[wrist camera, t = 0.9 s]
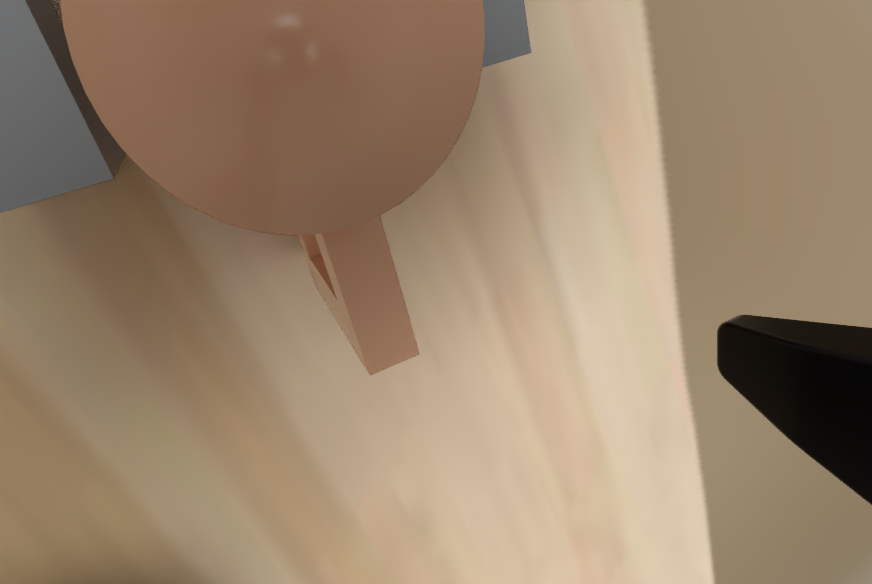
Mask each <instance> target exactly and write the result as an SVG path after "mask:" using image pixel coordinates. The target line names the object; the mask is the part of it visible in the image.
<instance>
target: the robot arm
mask: <svg viewBox="0 0 872 584" xmlns="http://www.w3.org/2000/svg"><path fill="white" fill-rule="evenodd" d="M717 366H718V369H719V371H720V373H721V375H722V376H723V377H724V378H725V379H726V380H727V381H728V382H729V383H730V384H731V385H732V386H733V387H734V388H735V389H736V390H737V391H738V392H739V393H740V394H741V395H743V397H745V398H746V399H747V400H748V401H749V402H750V403H751V404H752V405H753V406H754V407H755V408H756V409H758V411H759V412H760V413H762V414H763V415H764V416H765V417H766V418H767V419H768V420H769V421H770V422H771V423H772V424H773V425H774V426H776V428H777V429H779V430H780V431H781V432H782V433H783V434H784V435H785V436H786V437H787V438H788V439H790V440H791V441H792V442H793V443H794V444H795V445H796V446H798V447H799V448H800V449H801V450H803V451H804V452H805V453H806V454H808V455H809V456H810V457H811V458H812V459H814V460H815V461H816V462H818V463H819V464H820V465H822V466H823V467H824V468H825V469H827V470H828V471H829V472H830V473H832V474H833V475H834V476H835V477H837V478H838V479H839V480H840V481H842V482H843V483H844V484H846V485H847V486H848V487H849V488H851V489H852V490H853V491H854V492H856V493H857V494H858V495H860V496H861V497H862V498H863V499H865V500H866V501H867V502H868V503H870V504H871V505H872V328H867V327H857V326H847V325H838V324H827V323H819V322H809V321H799V320H790V319H780V318H771V317H761V316H752V315H739V316H736V317H734V318H732V319H730V320H728V321H725V322H723V323H722V324H721V325H720V326H719V328H718V330H717Z"/></svg>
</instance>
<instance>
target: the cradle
mask: <svg viewBox="0 0 872 584" xmlns="http://www.w3.org/2000/svg"><path fill="white" fill-rule="evenodd" d="M483 8H484V34H485V43H484V53H483V63H482V67H485V66H489V65H492V64H495V63H499V62H502V61H505V60H509V59H512V58H515V57H518V56H522V55H525V54H528V53H531V49H530V42H529V34H528V27H527V20H526V13H525V6H524V0H483ZM124 157H125V155H124V153H123V151H122V149H121V147H120V146H119V145H118V143H117V142H116V140H115V139H114V138H113V136H112V135H111V134H110V132H109V131H108V130H107V128H106V127H105V126H104V124H103V123H102V121H101V120H100V118H99V116H98V114H97V113H96V111H95V109H94V107H93V105H92V104H91V102H90V100H89V98H88V97H87V95H86V93H85V91H84V88H83V86H82V83H81V81H80V79H79V76H78V74H77V71H76V69H75V66H74V64H73V61H72V58H71V54H70V50H69V47H68V43H67V39H66V36H65V32H64V28H63V26H62V23H61V21H60V19H59V17H58V15H57V13H56V11H55V9H54V7H53V5H52V3H51V0H0V213H1V212H4V211H7V210H11V209H14V208H17V207H21V206H24V205H27V204H30V203H34V202H37V201H40V200H44V199H47V198H50V197H54V196H57V195H60V194H64V193H67V192H70V191H74V190H77V189H80V188H84V187H87V186H90V185H94V184H97V183H100V182H104V181H107V180H110V179H113V178H114V177H115V175H116V173H117V171H118V169H119V167H120V165H121V163H122V161H123V159H124Z"/></svg>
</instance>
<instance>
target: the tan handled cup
mask: <svg viewBox="0 0 872 584" xmlns="http://www.w3.org/2000/svg"><path fill="white" fill-rule="evenodd" d="M60 5H61V13H62V20H63V28H64V32H65V36H66V39H67V43H68V47H69V50H70V54H71V58H72V61H73V64H74V66H75V69H76V71H77V74H78V76H79V79H80V81H81V83H82V86H83V88H84V91H85V93H86V95H87V97H88V98H89V100H90V102H91V104H92V105H93V107H94V109H95V111H96V113H97V114H98V116H99V118H100V120H101V121H102V123H103V124H104V126H105V127H106V128H107V130H108V131H109V132H110V134H111V135H112V136H113V138H114V139H115V140H116V142H117V143H118V145H119V146H120V147H121V148H122V149H123V151H124V152H125V153H126V154H127V155H128V156H129V157H130V158H131V159H132V160H133V161H134V162H135V163H136V164H137V165H138V167H139V168H140V169H141V170H142V171H143V172H145V173H146V174H147V175H148V176H149V177H151V178H152V179H153V180H154V181H155V182H156V183H158V184H159V185H160V186H161V187H162V188H164V189H165V190H166V191H168V192H169V193H171V194H172V195H174V196H175V197H177V198H178V199H180V200H181V201H183V202H185V203H186V204H188V205H189V206H191V207H193V208H195V209H197V210H199V211H201V212H203V213H205V214H207V215H209V216H211V217H213V218H215V219H218V220H221V221H224V222H227V223H230V224H232V225H235V226H238V227H242V228H246V229H250V230H255V231H259V232H264V233H273V234H283V235H298V238H299V241H300V243H301V246H302V249H303V252H304V254H305V257H306V260H307V263H308V265H309V268H310V271H311V274H312V277H313V279H314V282H315V285H316V287H317V289H318V291H319V292H320V294H321V296H322V297H323V299H324V301H325V302H326V304H327V306H328V307H329V309H330V311H331V312H332V314H333V316H334V317H335V319H336V320H337V322H338V324H339V325H340V327H341V329H342V330H343V332H344V334H345V335H346V337H347V339H348V340H349V342H350V344H351V345H352V347H353V349H354V350H355V352H356V354H357V355H358V357H359V358H360V360H361V362H362V363H363V365H364V367H365V368H366V370H367V372H368V373H369V375H372V374H374V373H377V372H379V371H381V370H384V369H386V368H388V367H391V366H393V365H395V364H398V363H400V362H402V361H405V360H407V359H409V358H411V357H414V356H416V355H418V354H419V351H418V347H417V344H416V340H415V337H414V333H413V330H412V326H411V323H410V319H409V316H408V312H407V309H406V305H405V302H404V298H403V295H402V291H401V288H400V284H399V281H398V277H397V274H396V270H395V267H394V263H393V260H392V256H391V253H390V249H389V246H388V243H387V239H386V236H385V232H384V229H383V225H382V222H381V218H380V215H381V214H383V213H385V212H386V211H388V210H390V209H392V208H393V207H395V206H397V205H398V204H400V203H401V202H402V201H404V200H405V199H406V198H408V197H409V196H410V195H411V194H413V193H414V192H415V191H417V190H418V189H419V188H420V187H421V186H422V185H423V184H424V183H425V182H426V181H427V180H428V179H429V178H430V177H431V176H432V175H433V174H434V172H435V171H436V170H437V169H438V167H439V166H440V165H441V164H442V162H443V161H444V160H445V159H446V157H447V156H448V154H449V153H450V151H451V149H452V148H453V146H454V144H455V143H456V141H457V140H458V138H459V136H460V134H461V132H462V130H463V128H464V125H465V123H466V121H467V119H468V117H469V114H470V111H471V108H472V105H473V102H474V99H475V96H476V93H477V89H478V84H479V80H480V75H481V70H482V63H483V53H484V43H485V34H484V8H483V0H60Z"/></svg>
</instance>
